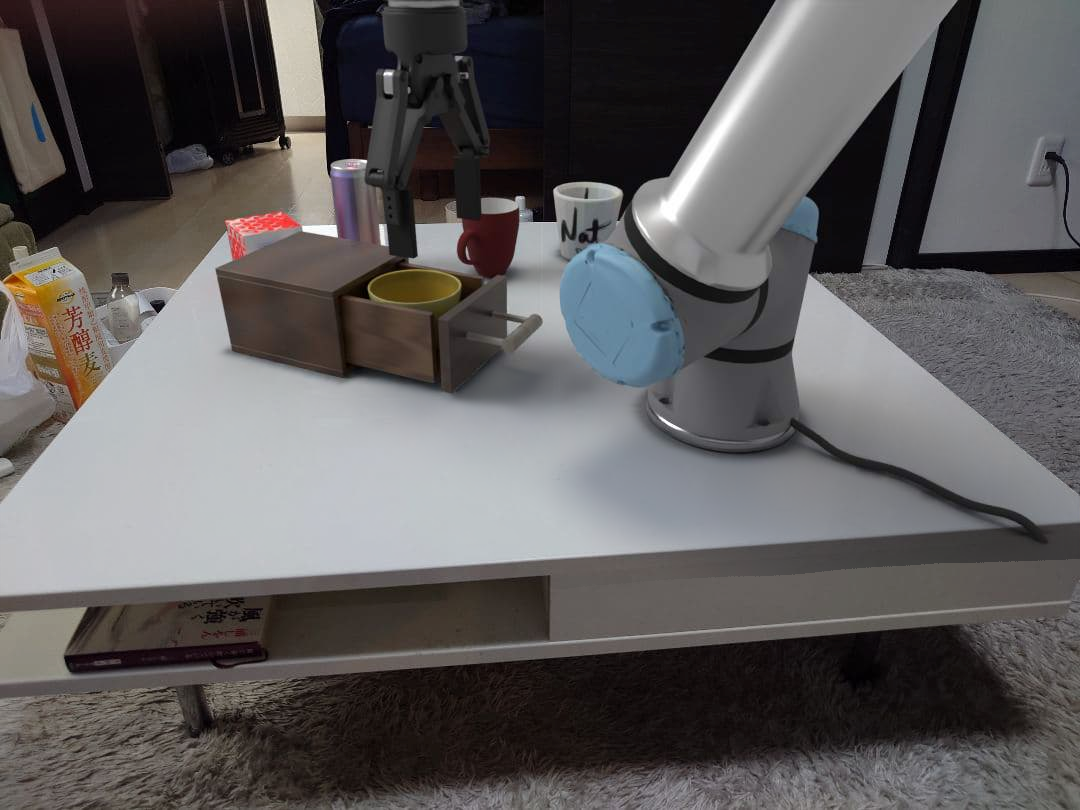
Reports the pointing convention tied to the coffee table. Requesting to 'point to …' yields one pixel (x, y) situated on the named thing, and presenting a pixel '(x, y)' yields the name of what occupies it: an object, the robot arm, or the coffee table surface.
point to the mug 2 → (585, 214)
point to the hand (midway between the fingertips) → (438, 236)
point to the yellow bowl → (418, 292)
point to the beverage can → (354, 202)
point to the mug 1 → (490, 237)
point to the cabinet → (297, 298)
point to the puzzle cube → (258, 232)
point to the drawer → (432, 330)
